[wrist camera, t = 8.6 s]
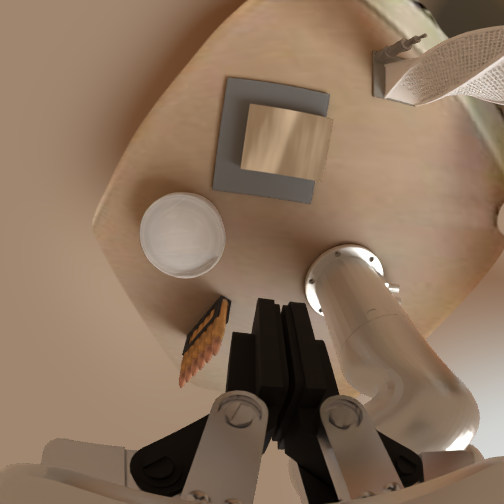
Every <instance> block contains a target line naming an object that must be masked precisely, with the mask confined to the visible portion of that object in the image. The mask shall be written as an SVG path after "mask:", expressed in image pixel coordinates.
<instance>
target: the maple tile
mask: <svg viewBox="0 0 504 504" xmlns="http://www.w3.org/2000/svg"><path fill="white" fill-rule="evenodd" d="M332 124H333V119H331V118H326V117H322V116H317V115H313V114H308V113H303V112H298V111H293V110H287V109H282V108H276V107H269V106H263V105H255V104H250V107H249V114H248V120H247V127H246V134H245V141H244V148H243V154H242V162H241V169H246V170H253V171H260V172H267V173H273V174H279V175H286V176H292V177H297V178H303V179H309V180H314V181H319V182H322V180H323V175H324V170H325V164H326V159H327V153H328V148H329V142H330V136H331V130H332Z"/></svg>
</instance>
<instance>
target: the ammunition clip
mask: <svg viewBox="0 0 504 504" xmlns="http://www.w3.org/2000/svg"><path fill="white" fill-rule="evenodd" d="M230 306H231V301H230V300H228V299H227V298H225V297H223V296H221V297H220V298H219V299H218V300H217V301H216V302H215V304H214V305H213V306H212V307H211V308H210V310H209V311H208V312H207V313H206V314H205V315H204V317H203V318H202V319H201V320H200V321H199V323H198V324H197V325H196V326H195V327H194V328H193V330H192V331H191V332H190V333H189V334H188V335H187V339H186V342H185V346H184V350H183V354H182V355H183V360H182V364H181V372H180V377H179V385H180V388H182V387H183V386H184V385H185V383H186V382H189V380H190V379H191V377H192V376H195V375H196V373H197V372H198V370H201V369H202V368H203V366H204V365H205V362H206V363H208V362H209V361H210V360H211V358H212V355H214V356H215V355H216V354H217V353H218V351H219V349H220V346H221V342H222V338H223V335H224V331H225V325H226V324H227V323H228V319H229V313H230Z"/></svg>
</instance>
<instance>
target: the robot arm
mask: <svg viewBox="0 0 504 504" xmlns="http://www.w3.org/2000/svg"><path fill="white" fill-rule="evenodd" d="M337 251H338V252H337ZM335 252H337V253H335ZM383 275H384V274H383V268H382V265H381V263H380V261H379V260H378V258H377V257H376V256H375V255H374V254H373V252H371V251H370V250H368V249H367V248H365V247H363V246H360V245H354V244H344V245H340V246H336V247H334V248H331V249H329V250H327V251H326V252H324V253H323V254H321V255H320V256H319V257H318V258H317V259H316V260H315V261H314V263H313V264H312V265H311V267H310V269H309V270H308V272H307V275H306V279H305V294H306V297H307V300H308V302H309V304H310V306H311V307H312V308H313V310H314V311H316V312H317V313H318V314H320V315H322V316H324V318H325V321H326V324H327V327H328V330H329V333H330V336H331V339H332V342H333V345H334V348H335V351H336V354H337V357H338V360H339V363H340V367H341V370H342V373H343V375H344V377H345V379H346V380H347V382H348V383H349V384H350V385H351V386H352V387H353V388H354V389H355V390H357V391H358V392H360V393H362V394H364V395H367V396H369V397H372V398H373V399H372V400H370V401H369V402H367V403H366V404H364V405H362V404H361V403H360V402H359V401H358V400H356V399H354V398H352V397H349V396H345V395H339V392H338V388H337V384H336V381H335V377H334V373H333V370H332V366H331V363H330V359H329V356H328V352H327V349H326V346H325V343H324V341H323V340H315V337H314V333H313V329H312V326H311V322H310V318H309V314H308V311H307V307H306V304H305V303H297V302H289V304H288V305H283V307H282V311H281V312H280V305H279V304H274V300H271V299H262V298H258V301H257V306H256V311H255V317H254V322H253V327H252V333H251V334H248V333H239V332H233V333H232V340H231V347H230V355H229V364H228V373H227V383H226V393H224V394H222V395H220V396H219V397H218V398H217V399H216V400H215V402H214V403H213V406H212V409H211V411H210V414H208V415H207V416H205V417H203V418H201V419H199V420H197V421H196V422H194V423H192V424H190V425H188V426H186V427H184V428H182V429H180V430H178V431H177V432H174V433H172V434H171V435H168V436H166V437H164V438H163V439H160V440H158V441H156V442H154V443H152V444H150V445H148V446H145V447H143V448H142V449H140V450H138V451H137V450H126V449H125V447H118V446H108V445H100V444H93V443H86V442H80V441H74V440H69V439H59V438H58V439H54V440H52V441H50V442H49V443H48V444H47V445H46V446H45V448H44V451H43V455H42V461H41V464H29V463H25V464H24V463H23V464H12V465H9V466H6V467H5V468H3V469H2V470H0V504H253V500H254V495H255V489H256V484H257V479H258V474H259V468H260V463H261V457H262V454H264V452H265V451H266V449H267V446H268V444H269V442H270V440H271V437H272V440H273V441H277V442H278V449H285V454H287V455H288V456H289V463H288V468H289V475H290V478H291V481H292V483H293V486H294V488H295V489H296V491H297V493H298V495H299V496H300V499H301V502H302V504H504V456H501V457H493V458H488V459H484V457H483V456H482V454H481V453H480V451H479V450H478V449H477V448H475V447H474V446H473V445H470V442H471V441H472V439H473V438H474V436H475V434H476V432H477V429H478V426H479V418H480V417H479V410H478V406H477V403H476V401H475V399H474V397H473V396H472V394H471V392H470V391H469V389H468V388H467V387H466V386H465V384H464V383H463V382H462V381H461V380H460V379H459V378H458V377H457V376H456V375H455V374H454V373H453V372H452V371H451V370H450V369H449V368H448V367H447V365H446V364H445V363H444V362H443V361H442V360H441V359H440V358H439V356H438V355H437V354H436V353H435V352H434V350H433V349H432V348H431V347H430V345H429V344H428V343H427V341H426V340H425V338H424V337H423V336H422V334H421V333H420V331H419V330H418V329H417V327H416V326H415V324H414V323H413V321H412V320H411V319H410V317H409V316H408V314H407V313H406V312H405V310H404V309H403V308H402V306H401V299H400V298H399V297H394V295H393V294H392V293H398V292H399V289H400V288H399V285H398V284H388V283H387V281H386V280H385V279H384V278H383ZM310 279H312V280H310Z"/></svg>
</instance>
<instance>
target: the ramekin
mask: <svg viewBox="0 0 504 504" xmlns="http://www.w3.org/2000/svg"><path fill="white" fill-rule="evenodd" d="M139 238H140V243H141V247H142V250H143V252H144V254H145V256H146V257H147V259H148V260H149V261H150V262H151V263H152V265H154V266H155V267H156V268H157V269H158V270H160V271H161V272H163V273H165V274H167V275H170V276H173V277H176V278H194V277H198V276H201V275H203V274H205V273H207V272H208V271H210V270H211V269H212V268H213V267H214V266H215V265H216V264H217V263H218V261H219V260H220V258H221V256H222V253H223V250H224V247H225V228H224V225H223V222H222V219H221V216H220V214H219V212H218V210H217V208H216V207H215V206H214V204H213V203H212V202H211V201H209V200H208V199H207V198H205V197H203V196H201V195H199V194H195V193H189V192H188V193H186V192H174V193H170V194H167V195H164V196H162V197H160V198H159V199H157V200H156V201H154V202H153V203H152V204H151V205H150V206H149V207H148V209H147V210H146V211H145V213H144V215H143V217H142V220H141V223H140V229H139Z"/></svg>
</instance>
